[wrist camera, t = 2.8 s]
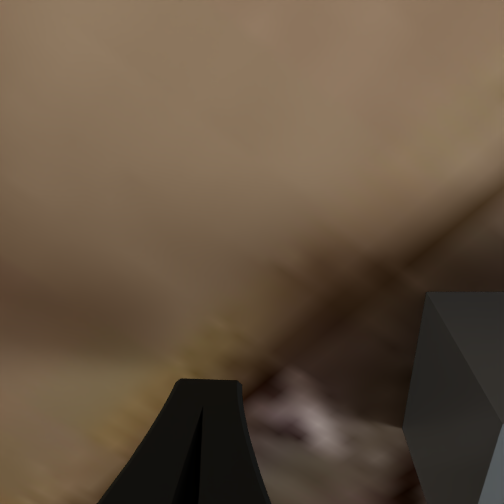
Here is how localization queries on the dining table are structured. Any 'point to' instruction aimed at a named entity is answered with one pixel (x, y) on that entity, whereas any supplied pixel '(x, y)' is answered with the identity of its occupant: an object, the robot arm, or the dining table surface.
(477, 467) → the grey cube with stripe
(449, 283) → the dining table surface
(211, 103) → the dining table surface
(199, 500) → the robot arm
